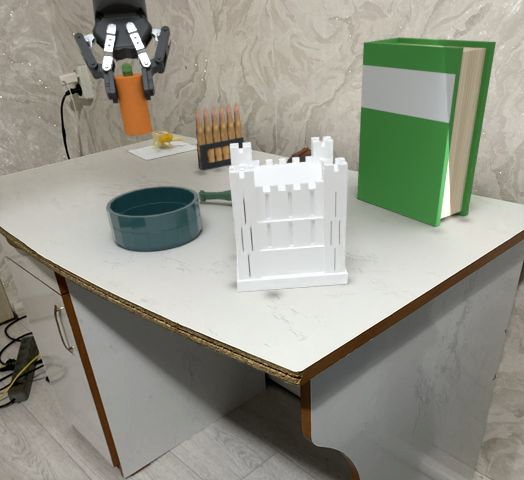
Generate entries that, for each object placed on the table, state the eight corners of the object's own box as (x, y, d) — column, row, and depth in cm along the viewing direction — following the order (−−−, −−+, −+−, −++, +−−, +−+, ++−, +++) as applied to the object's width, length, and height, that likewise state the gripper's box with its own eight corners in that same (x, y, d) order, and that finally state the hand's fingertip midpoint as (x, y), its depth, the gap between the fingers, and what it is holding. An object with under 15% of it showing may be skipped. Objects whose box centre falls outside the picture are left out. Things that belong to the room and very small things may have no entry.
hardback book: (467, 214, 85) (495, 41, 72) (435, 226, 82) (458, 48, 68) (387, 188, 98) (398, 37, 84) (357, 198, 94) (363, 42, 81)
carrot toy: (124, 136, 78) (110, 66, 73) (125, 130, 81) (112, 62, 76) (152, 134, 78) (139, 63, 73) (152, 128, 81) (140, 59, 76)
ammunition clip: (242, 159, 120) (237, 101, 113) (246, 161, 119) (241, 102, 112) (198, 168, 116) (191, 108, 109) (201, 170, 115) (194, 110, 108)
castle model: (237, 247, 80) (227, 143, 72) (331, 240, 80) (332, 135, 72) (237, 292, 69) (226, 174, 60) (347, 283, 69) (351, 164, 60)
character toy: (155, 137, 126) (142, 132, 131) (158, 151, 128) (144, 146, 133) (186, 131, 129) (171, 126, 135) (188, 145, 131) (173, 140, 137)
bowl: (110, 257, 80) (102, 222, 77) (117, 223, 92) (109, 191, 89) (205, 245, 81) (200, 210, 78) (199, 213, 93) (195, 182, 90)
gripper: (60, -25, 74) (72, 85, 71) (164, -33, 75) (180, 75, 72) (75, 18, 81) (86, 119, 78) (169, 11, 83) (184, 110, 79)
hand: (131, 97), depth 75 cm, fingers closed on carrot toy, 4 cm apart
